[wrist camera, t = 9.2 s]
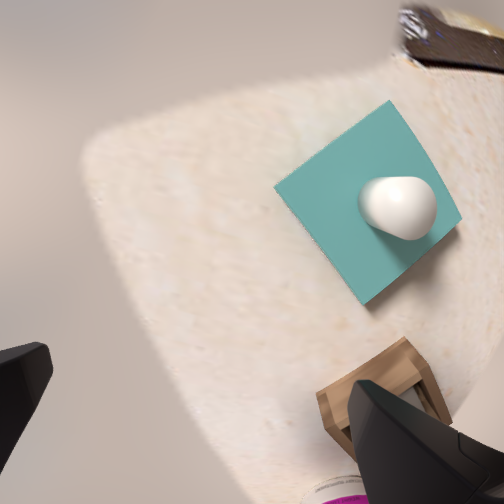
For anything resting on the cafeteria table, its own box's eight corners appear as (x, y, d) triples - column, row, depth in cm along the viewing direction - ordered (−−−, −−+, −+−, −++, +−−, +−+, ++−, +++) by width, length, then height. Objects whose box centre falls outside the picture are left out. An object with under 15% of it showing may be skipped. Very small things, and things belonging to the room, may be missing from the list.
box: (402, 334, 21) (428, 364, 17) (431, 393, 22) (452, 422, 18) (315, 391, 22) (324, 429, 18) (356, 440, 24) (368, 474, 19)
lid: (378, 106, 18) (419, 82, 12) (447, 215, 19) (499, 227, 13) (272, 187, 19) (278, 188, 13) (353, 294, 20) (385, 334, 14)
